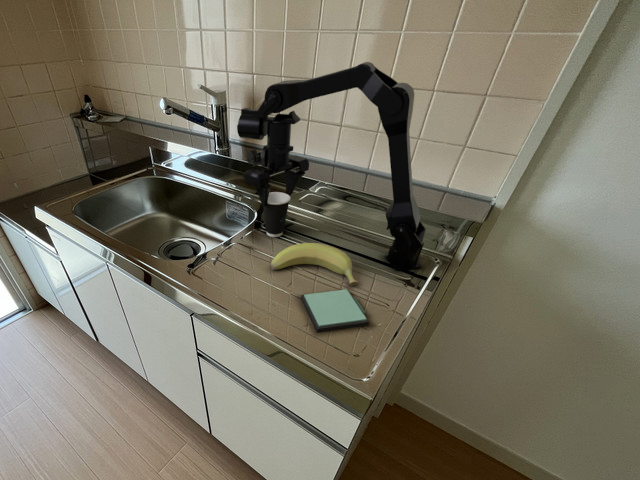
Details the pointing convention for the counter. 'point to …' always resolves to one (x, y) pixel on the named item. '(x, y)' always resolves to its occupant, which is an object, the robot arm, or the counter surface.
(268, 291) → the counter surface
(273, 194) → the dixie cup
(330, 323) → the scale
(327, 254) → the banana
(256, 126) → the robot arm
